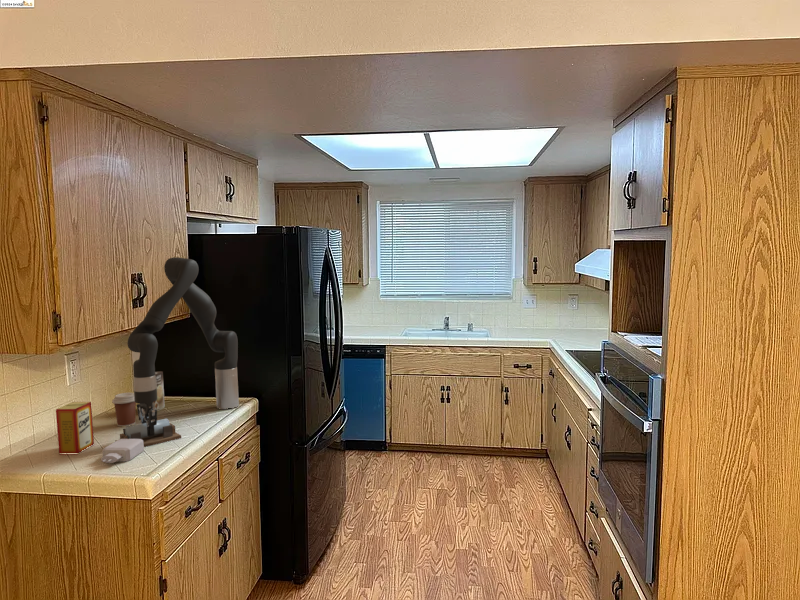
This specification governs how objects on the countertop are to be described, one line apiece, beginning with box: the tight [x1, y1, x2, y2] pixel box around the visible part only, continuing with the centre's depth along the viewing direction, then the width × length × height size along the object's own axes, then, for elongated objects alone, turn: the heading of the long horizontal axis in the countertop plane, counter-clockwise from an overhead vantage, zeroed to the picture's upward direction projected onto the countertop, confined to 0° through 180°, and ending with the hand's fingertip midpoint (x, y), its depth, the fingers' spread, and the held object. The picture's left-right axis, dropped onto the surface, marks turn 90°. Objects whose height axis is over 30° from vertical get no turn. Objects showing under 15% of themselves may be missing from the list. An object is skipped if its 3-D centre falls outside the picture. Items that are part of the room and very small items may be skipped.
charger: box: [100, 438, 145, 464], centre depth 188 cm, size 5×9×15 cm
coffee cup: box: [111, 392, 137, 427], centre depth 226 cm, size 9×9×12 cm
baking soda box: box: [55, 401, 95, 454], centre depth 198 cm, size 10×6×16 cm
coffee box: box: [153, 371, 166, 412], centre depth 246 cm, size 9×6×16 cm
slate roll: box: [124, 417, 171, 439], centre depth 206 cm, size 14×5×5 cm, turn 133°
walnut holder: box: [114, 422, 182, 448], centre depth 206 cm, size 12×19×5 cm, turn 133°
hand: (148, 434), depth 207 cm, fingers closed on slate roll, 5 cm apart
